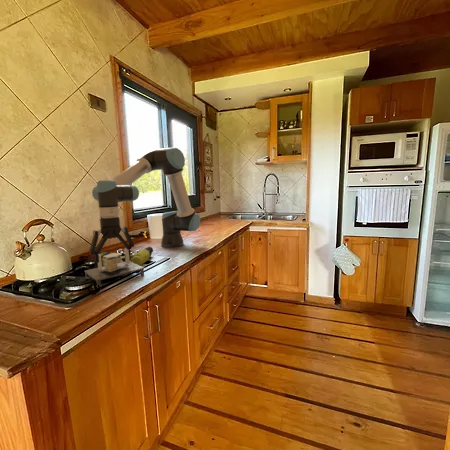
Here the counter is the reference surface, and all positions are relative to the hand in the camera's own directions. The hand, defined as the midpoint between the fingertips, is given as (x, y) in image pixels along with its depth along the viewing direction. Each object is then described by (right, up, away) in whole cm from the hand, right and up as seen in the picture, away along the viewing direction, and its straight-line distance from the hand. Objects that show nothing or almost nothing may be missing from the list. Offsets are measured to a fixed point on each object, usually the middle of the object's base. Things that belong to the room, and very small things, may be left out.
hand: (114, 265), depth 111 cm
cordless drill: (-4, -2, +26) cm, 26 cm away
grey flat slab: (0, -5, +1) cm, 5 cm away
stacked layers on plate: (0, -1, 0) cm, 1 cm away
